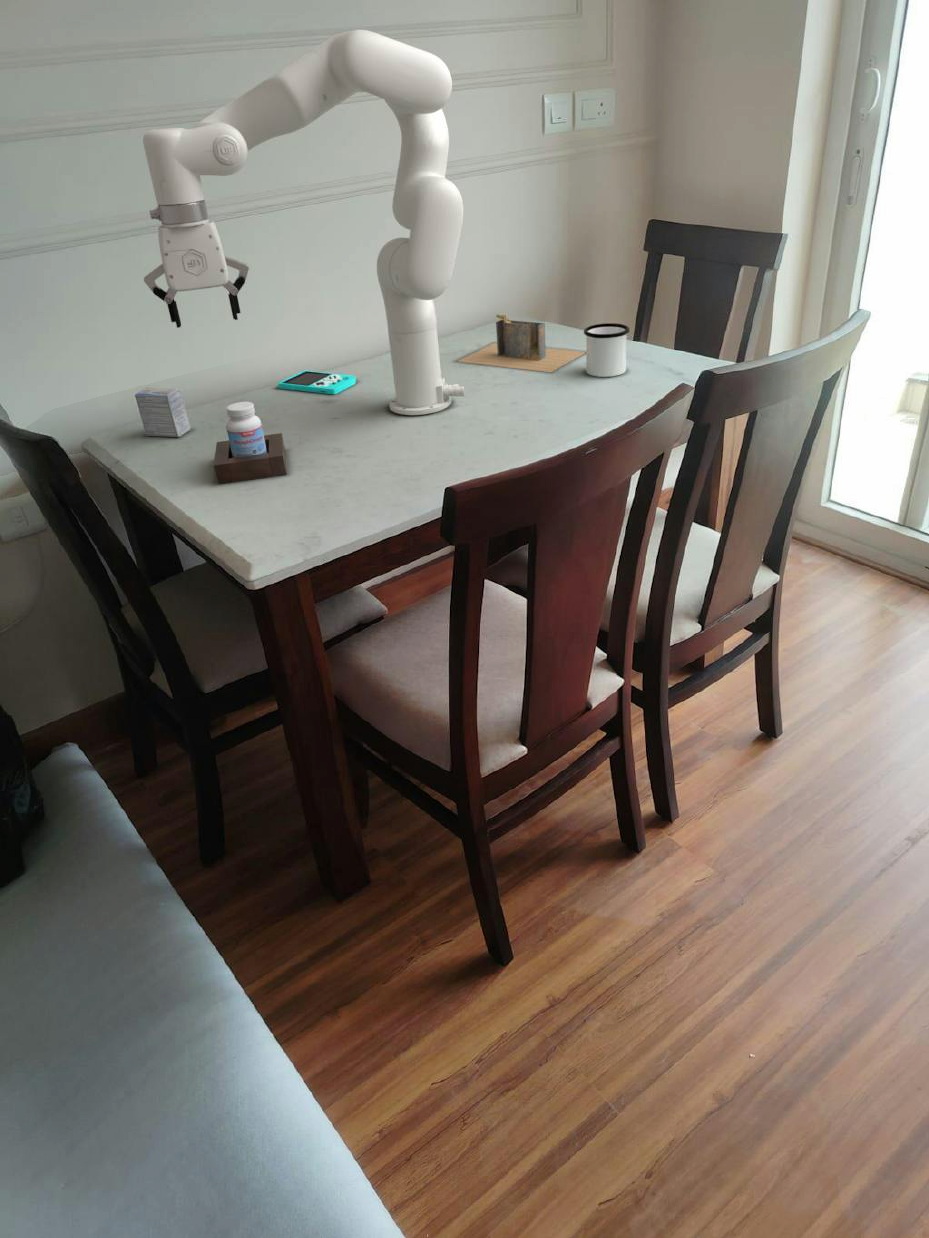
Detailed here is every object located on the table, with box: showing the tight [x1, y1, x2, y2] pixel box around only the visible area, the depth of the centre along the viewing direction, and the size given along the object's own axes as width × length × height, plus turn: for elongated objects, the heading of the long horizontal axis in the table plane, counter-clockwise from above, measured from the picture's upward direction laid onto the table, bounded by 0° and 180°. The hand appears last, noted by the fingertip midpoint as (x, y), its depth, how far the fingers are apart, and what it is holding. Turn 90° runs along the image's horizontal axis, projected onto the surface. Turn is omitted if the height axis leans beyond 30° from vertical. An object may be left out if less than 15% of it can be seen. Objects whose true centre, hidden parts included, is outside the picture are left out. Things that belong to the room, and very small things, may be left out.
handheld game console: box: [277, 370, 357, 395], centre depth 197 cm, size 10×16×1 cm, turn 60°
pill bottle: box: [225, 401, 267, 458], centre depth 155 cm, size 6×6×11 cm
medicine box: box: [134, 387, 192, 438], centre depth 175 cm, size 8×4×9 cm, turn 71°
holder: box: [213, 432, 288, 485], centre depth 157 cm, size 12×12×4 cm
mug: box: [583, 322, 630, 378], centre depth 187 cm, size 12×10×9 cm
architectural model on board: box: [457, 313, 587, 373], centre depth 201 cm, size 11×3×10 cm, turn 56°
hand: (207, 322), depth 153 cm, fingers open, 9 cm apart
